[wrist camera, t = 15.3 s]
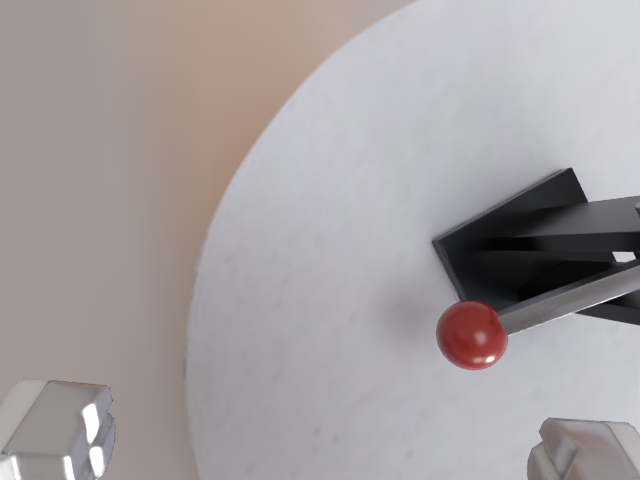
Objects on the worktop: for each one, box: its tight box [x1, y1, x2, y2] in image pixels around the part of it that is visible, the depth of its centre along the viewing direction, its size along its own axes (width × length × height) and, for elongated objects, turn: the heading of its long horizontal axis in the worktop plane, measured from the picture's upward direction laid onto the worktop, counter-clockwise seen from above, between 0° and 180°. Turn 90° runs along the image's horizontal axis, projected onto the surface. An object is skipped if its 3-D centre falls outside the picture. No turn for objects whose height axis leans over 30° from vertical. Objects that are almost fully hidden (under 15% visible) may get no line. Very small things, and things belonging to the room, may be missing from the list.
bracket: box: [432, 168, 640, 336], centre depth 30 cm, size 11×8×15 cm
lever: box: [436, 252, 640, 370], centre depth 26 cm, size 13×4×4 cm
